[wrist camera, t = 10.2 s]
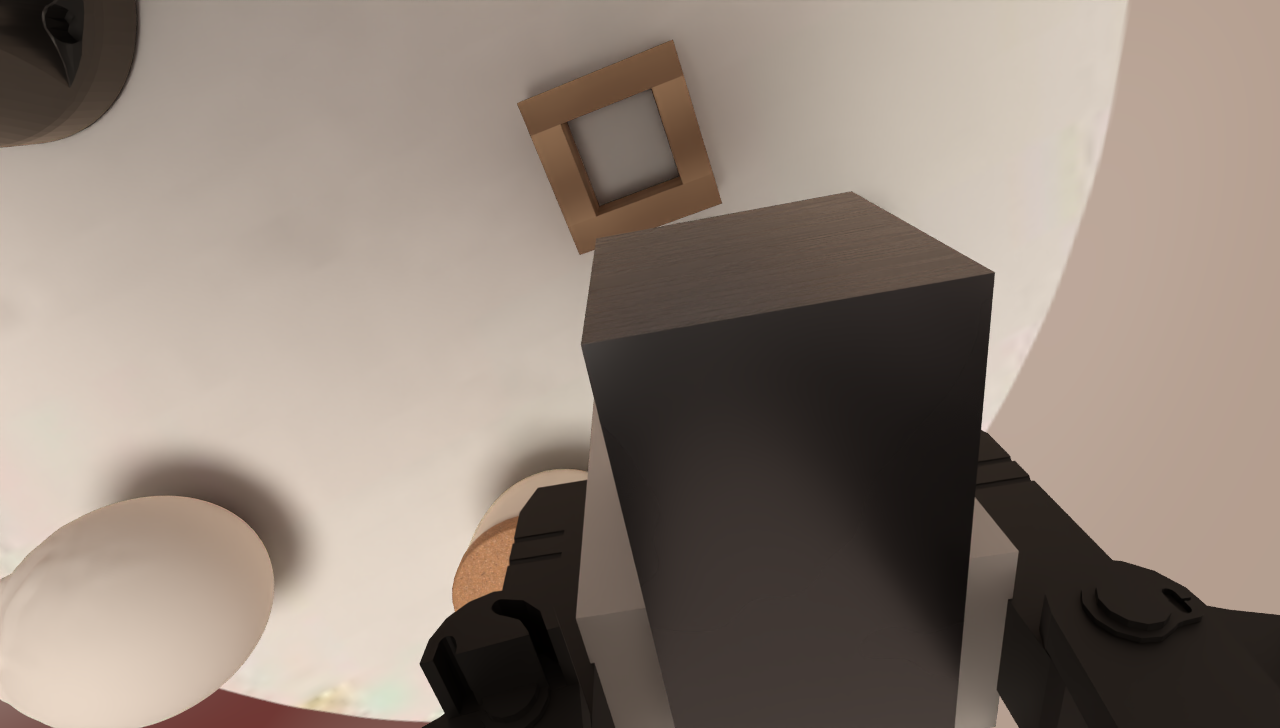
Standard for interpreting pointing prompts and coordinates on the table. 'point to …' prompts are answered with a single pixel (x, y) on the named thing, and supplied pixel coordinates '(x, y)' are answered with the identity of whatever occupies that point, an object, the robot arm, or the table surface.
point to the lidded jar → (500, 537)
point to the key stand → (567, 168)
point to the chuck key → (795, 457)
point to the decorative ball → (132, 613)
